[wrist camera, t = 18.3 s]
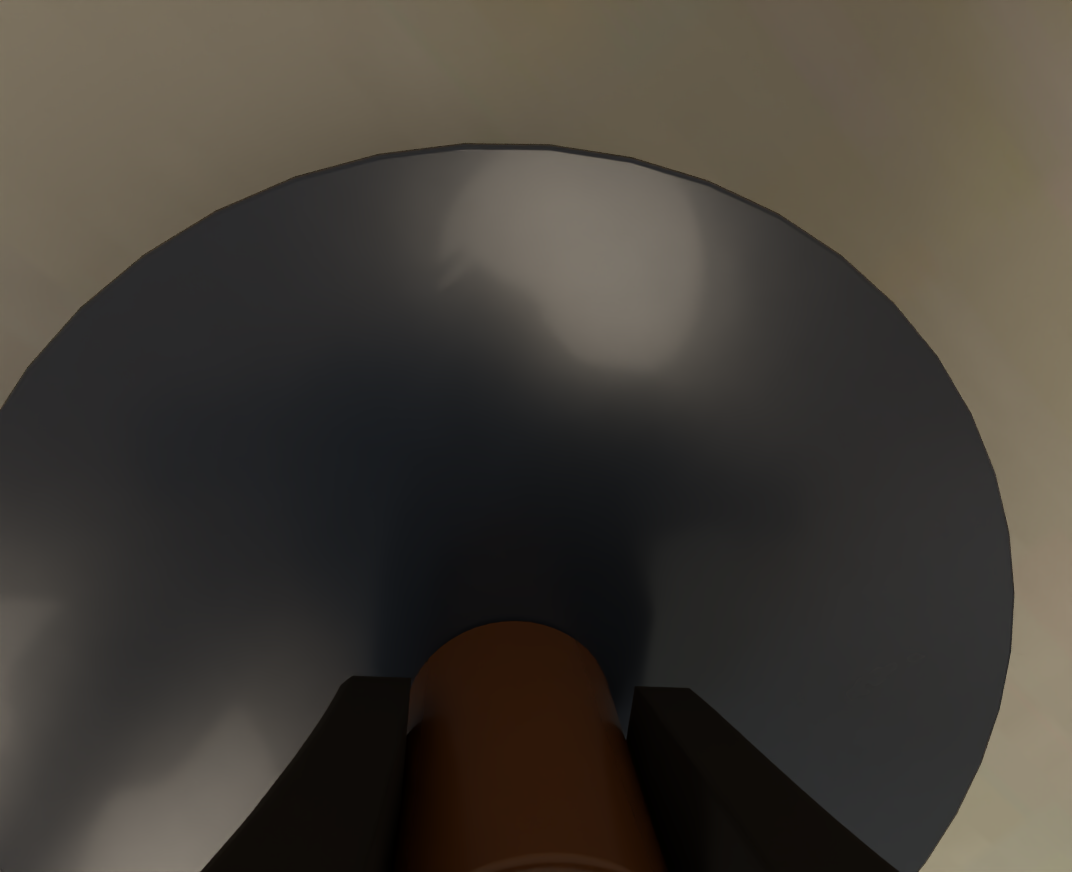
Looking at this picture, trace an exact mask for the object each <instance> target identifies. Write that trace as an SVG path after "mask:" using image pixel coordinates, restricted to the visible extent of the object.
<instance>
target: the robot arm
mask: <svg viewBox="0 0 1072 872" xmlns="http://www.w3.org/2000/svg"><path fill="white" fill-rule="evenodd" d="M410 685H411V678H404V677H377V676H351V677H350V678H349V679H347V680H346V681H345V682H344V683H342V684H341V685H340V687H339V689H338V691H337V693H336V695H335V696H334V698H333V700H332V701H331V703H330V705H329V706H328V708H327V710H326V711H325V713H324V714H323V716H322V717H321V719H320V721H319V722H318V724H317V725H316V727H315V728H314V729H313V731H312V732H311V734H310V735H309V737H308V738H307V740H306V741H305V742H304V744H303V745H302V747H301V748H300V749H299V751H298V752H297V754H296V755H295V756H294V758H293V759H292V761H291V762H290V763H289V764H288V766H287V767H286V768H285V770H284V771H283V772H282V774H281V775H280V776H279V777H278V779H277V780H276V781H275V783H274V784H273V785H272V786H271V788H270V789H269V790H268V792H267V793H266V794H265V795H264V797H263V798H262V799H261V801H260V802H259V803H258V805H257V806H256V807H255V808H254V810H253V811H252V812H251V813H250V815H249V816H248V817H247V818H246V820H245V821H244V822H243V823H242V824H241V826H240V827H239V828H238V829H237V830H236V831H235V832H234V834H233V835H232V836H231V837H230V838H229V839H228V841H227V842H226V843H225V844H224V845H223V846H222V847H221V849H220V850H219V851H218V852H217V853H216V854H215V855H214V857H213V858H212V859H211V860H210V861H209V862H208V863H207V865H206V866H205V867H204V868H203V869H202V870H201V871H200V872H391V871H392V861H393V852H394V844H395V838H396V831H397V825H398V819H399V812H400V806H401V797H402V785H403V774H404V762H405V751H406V739H407V726H408V713H409V699H410ZM626 742H627V745H628V748H629V751H630V754H631V758H632V761H633V764H634V767H635V770H636V773H637V776H638V779H639V782H640V786H641V789H642V792H643V795H644V798H645V801H646V804H647V807H648V810H649V814H650V817H651V820H652V823H653V826H654V829H655V832H656V835H657V838H658V841H659V845H660V848H661V851H662V854H663V857H664V860H665V863H666V866H667V869H668V872H899V871H898V870H897V869H896V868H894V867H893V866H892V865H891V864H889V863H888V862H887V861H886V860H884V859H883V858H882V857H881V856H879V855H878V854H877V853H876V852H874V851H873V850H872V849H871V848H870V847H868V846H867V845H866V844H865V843H864V842H862V841H861V840H860V839H859V838H858V837H857V836H855V835H854V834H853V833H852V832H851V831H849V830H848V829H847V828H846V827H845V826H843V825H842V824H841V823H840V822H839V821H838V820H837V819H835V818H834V817H833V816H832V815H831V814H830V813H828V812H827V811H826V810H825V809H824V808H823V807H822V806H820V805H819V804H818V803H817V802H816V801H815V800H814V799H812V798H811V797H810V796H809V795H808V794H807V793H806V792H805V791H803V790H802V789H801V788H800V787H799V786H798V785H797V784H796V783H794V782H793V781H792V780H791V779H790V778H789V777H788V776H787V775H786V774H784V773H783V772H782V771H781V770H780V769H779V768H778V767H777V766H776V765H775V764H773V763H772V762H771V761H770V760H769V759H768V758H767V757H766V756H765V755H764V754H763V753H761V752H760V751H759V750H758V749H757V748H756V747H755V746H754V745H753V744H752V743H751V742H749V741H748V740H747V739H746V738H745V737H744V736H743V735H742V734H741V733H740V732H739V731H738V730H736V729H735V728H734V727H733V726H732V725H731V724H730V723H729V722H728V721H727V720H725V719H724V718H723V717H722V716H721V715H720V714H719V713H718V712H717V711H716V710H714V709H713V708H712V707H711V706H710V705H709V704H708V703H707V702H705V701H704V700H703V699H702V698H701V697H700V696H698V695H697V694H696V693H695V692H694V691H692V690H691V689H690V688H677V687H650V686H635V688H634V694H633V701H632V707H631V713H630V719H629V726H628V732H627V738H626ZM0 872H1V871H0Z"/></svg>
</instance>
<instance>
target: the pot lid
mask: <svg viewBox="0 0 1072 872" xmlns="http://www.w3.org/2000/svg"><path fill="white" fill-rule="evenodd" d="M1013 608H1014V583H1013V571H1012V559H1011V547H1010V536H1009V530H1008V526H1007V521H1006V517H1005V513H1004V509H1003V504H1002V500H1001V496H1000V492H999V487H998V483H997V479H996V475H995V471H994V469H993V466H992V464H991V462H990V459H989V457H988V454H987V452H986V449H985V447H984V444H983V442H982V439H981V437H980V434H979V432H978V429H977V427H976V424H975V422H974V419H973V417H972V414H971V412H970V411H969V409H968V407H967V406H966V404H965V402H964V400H963V399H962V397H961V395H960V394H959V392H958V390H957V389H956V387H955V385H954V383H953V382H952V380H951V378H950V377H949V375H948V373H947V372H946V370H945V368H944V367H943V365H942V363H941V361H940V360H939V358H938V356H937V355H936V354H935V353H934V351H933V350H932V349H931V348H930V346H929V345H928V344H927V343H926V342H925V340H924V339H923V338H922V337H921V335H920V334H919V333H918V332H917V331H916V329H915V328H914V327H913V326H912V324H911V323H910V322H909V321H908V319H907V318H906V317H905V316H904V315H903V313H902V312H901V311H900V310H899V308H898V307H897V306H896V305H895V304H894V302H892V301H891V300H890V299H889V298H888V297H887V296H886V295H885V294H884V293H882V292H881V291H880V290H879V289H878V288H877V287H876V286H875V285H874V284H873V283H871V282H870V281H869V280H868V279H867V278H866V277H865V276H864V275H863V274H861V273H860V272H859V271H858V270H857V269H856V268H855V267H854V266H853V265H851V264H850V263H849V262H848V261H847V260H846V259H845V258H844V257H843V256H842V255H840V254H839V253H837V252H836V251H834V250H833V249H831V248H830V247H828V246H827V245H825V244H824V243H822V242H821V241H819V240H818V239H816V238H815V237H813V236H812V235H810V234H809V233H807V232H806V231H804V230H803V229H801V228H800V227H798V226H797V225H795V224H794V223H792V222H791V221H789V220H787V219H786V218H784V217H783V216H781V215H780V214H778V213H776V212H774V211H772V210H770V209H768V208H766V207H763V206H761V205H759V204H757V203H755V202H753V201H751V200H749V199H746V198H744V197H742V196H740V195H738V194H736V193H734V192H732V191H729V190H727V189H725V188H723V187H721V186H719V185H717V184H715V183H712V182H710V181H708V180H705V179H701V178H698V177H695V176H692V175H688V174H685V173H682V172H678V171H675V170H672V169H669V168H665V167H662V166H659V165H655V164H652V163H649V162H646V161H642V160H639V159H636V158H632V157H627V156H621V155H614V154H608V153H601V152H595V151H588V150H582V149H576V148H569V147H563V146H556V145H550V144H486V143H462V144H454V145H446V146H438V147H430V148H422V149H414V150H406V151H398V152H390V153H382V154H376V155H373V156H369V157H365V158H362V159H358V160H354V161H351V162H347V163H343V164H340V165H336V166H332V167H328V168H325V169H321V170H317V171H314V172H310V173H306V174H303V175H299V176H295V177H293V178H290V179H288V180H286V181H283V182H281V183H279V184H276V185H274V186H272V187H269V188H267V189H265V190H262V191H260V192H258V193H255V194H253V195H251V196H248V197H246V198H244V199H241V200H239V201H237V202H234V203H232V204H230V205H228V206H225V207H223V208H221V209H218V210H216V211H214V212H213V213H211V214H209V215H208V216H206V217H204V218H203V219H201V220H200V221H198V222H196V223H195V224H193V225H191V226H190V227H188V228H186V229H185V230H183V231H182V232H180V233H178V234H177V235H175V236H173V237H172V238H170V239H168V240H167V241H165V242H164V243H162V244H160V245H159V246H157V247H155V248H154V249H152V250H150V251H149V252H147V253H145V254H144V255H143V256H141V257H140V258H139V259H138V260H137V261H135V262H134V263H133V264H132V265H131V266H129V267H128V268H127V269H126V270H125V271H123V272H122V273H121V274H120V275H119V276H117V277H116V278H115V279H114V280H113V281H111V282H110V283H109V284H108V285H107V286H105V287H104V288H103V289H102V290H101V291H99V292H98V293H97V294H96V295H95V296H93V297H92V298H91V299H90V300H89V301H87V302H86V303H85V304H84V305H83V306H81V307H80V308H79V310H78V311H77V312H76V313H75V314H74V315H73V316H72V317H71V319H70V320H69V321H68V322H67V323H66V324H65V325H64V326H63V328H62V329H61V330H60V331H59V332H58V333H57V334H56V335H55V337H54V338H53V339H52V340H51V341H50V342H49V343H48V345H47V346H46V347H45V348H44V349H43V350H42V351H41V352H40V354H39V355H38V356H37V357H36V358H35V359H34V360H33V361H32V363H31V364H30V365H29V366H28V367H27V369H26V370H25V372H24V373H23V375H22V376H21V378H20V379H19V381H18V383H17V384H16V386H15V387H14V389H13V390H12V392H11V393H10V395H9V397H8V398H7V400H6V401H5V403H4V404H3V406H2V408H1V409H0V871H1V872H200V871H201V870H202V869H203V868H204V867H205V866H206V865H207V863H208V862H209V861H210V860H211V859H212V858H213V857H214V855H215V854H216V853H217V852H218V851H219V850H220V849H221V847H222V846H223V845H224V844H225V843H226V842H227V841H228V839H229V838H230V837H231V836H232V835H233V834H234V832H235V831H236V830H237V829H238V828H239V827H240V826H241V824H242V823H243V822H244V821H245V820H246V818H247V817H248V816H249V815H250V813H251V812H252V811H253V810H254V808H255V807H256V806H257V805H258V803H259V802H260V801H261V799H262V798H263V797H264V795H265V794H266V793H267V792H268V790H269V789H270V788H271V786H272V785H273V784H274V783H275V781H276V780H277V779H278V777H279V776H280V775H281V774H282V772H283V771H284V770H285V768H286V767H287V766H288V764H289V763H290V762H291V761H292V759H293V758H294V756H295V755H296V754H297V752H298V751H299V749H300V748H301V747H302V745H303V744H304V742H305V741H306V740H307V738H308V737H309V735H310V734H311V732H312V731H313V729H314V728H315V727H316V725H317V724H318V722H319V721H320V719H321V717H322V716H323V714H324V713H325V711H326V710H327V708H328V706H329V705H330V703H331V701H332V700H333V698H334V696H335V695H336V693H337V691H338V689H339V687H340V685H341V684H342V683H344V682H345V681H346V680H347V679H349V678H350V677H351V676H377V677H404V678H411V685H410V699H409V713H408V726H407V739H406V751H405V762H404V774H403V785H402V797H401V806H400V812H399V819H398V825H397V831H396V838H395V844H394V852H393V861H392V871H391V872H668V869H667V866H666V863H665V860H664V857H663V854H662V851H661V848H660V845H659V841H658V838H657V835H656V832H655V829H654V826H653V823H652V820H651V817H650V814H649V810H648V807H647V804H646V801H645V798H644V795H643V792H642V789H641V786H640V782H639V779H638V776H637V773H636V770H635V767H634V764H633V761H632V758H631V754H630V751H629V748H628V745H627V742H626V738H627V732H628V726H629V719H630V713H631V707H632V701H633V694H634V688H635V686H650V687H677V688H690V689H691V690H692V691H694V692H695V693H696V694H697V695H698V696H700V697H701V698H702V699H703V700H704V701H705V702H707V703H708V704H709V705H710V706H711V707H712V708H713V709H714V710H716V711H717V712H718V713H719V714H720V715H721V716H722V717H723V718H724V719H725V720H727V721H728V722H729V723H730V724H731V725H732V726H733V727H734V728H735V729H736V730H738V731H739V732H740V733H741V734H742V735H743V736H744V737H745V738H746V739H747V740H748V741H749V742H751V743H752V744H753V745H754V746H755V747H756V748H757V749H758V750H759V751H760V752H761V753H763V754H764V755H765V756H766V757H767V758H768V759H769V760H770V761H771V762H772V763H773V764H775V765H776V766H777V767H778V768H779V769H780V770H781V771H782V772H783V773H784V774H786V775H787V776H788V777H789V778H790V779H791V780H792V781H793V782H794V783H796V784H797V785H798V786H799V787H800V788H801V789H802V790H803V791H805V792H806V793H807V794H808V795H809V796H810V797H811V798H812V799H814V800H815V801H816V802H817V803H818V804H819V805H820V806H822V807H823V808H824V809H825V810H826V811H827V812H828V813H830V814H831V815H832V816H833V817H834V818H835V819H837V820H838V821H839V822H840V823H841V824H842V825H843V826H845V827H846V828H847V829H848V830H849V831H851V832H852V833H853V834H854V835H855V836H857V837H858V838H859V839H860V840H861V841H862V842H864V843H865V844H866V845H867V846H868V847H870V848H871V849H872V850H873V851H874V852H876V853H877V854H878V855H879V856H881V857H882V858H883V859H884V860H886V861H887V862H888V863H889V864H891V865H892V866H893V867H894V868H896V869H897V870H898V871H899V872H919V870H920V869H921V868H922V867H923V865H924V864H925V863H926V862H927V860H928V858H929V857H930V855H931V854H932V852H933V851H934V849H935V847H936V846H937V844H938V843H939V841H940V840H941V838H942V836H943V835H944V833H945V832H946V830H947V829H948V827H949V826H950V824H951V822H952V821H953V819H954V818H955V816H956V815H957V813H958V810H959V808H960V806H961V804H962V802H963V800H964V798H965V796H966V794H967V792H968V790H969V788H970V786H971V784H972V781H973V779H974V777H975V775H976V773H977V771H978V769H979V767H980V765H981V763H982V760H983V757H984V754H985V751H986V748H987V745H988V742H989V739H990V736H991V733H992V730H993V727H994V724H995V721H996V718H997V715H998V712H999V709H1000V705H1001V700H1002V695H1003V689H1004V684H1005V679H1006V674H1007V669H1008V664H1009V659H1010V654H1011V642H1012V625H1013Z"/></svg>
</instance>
